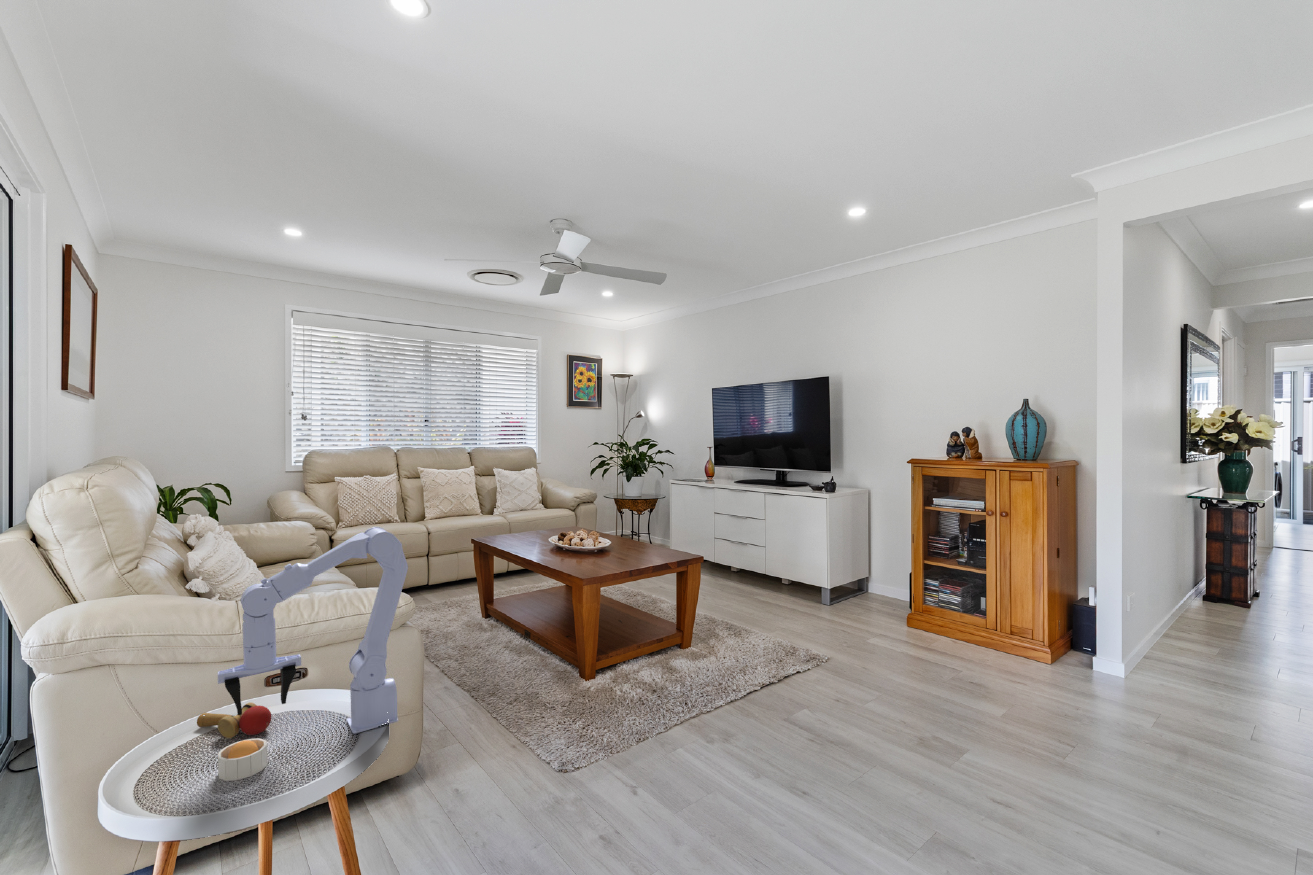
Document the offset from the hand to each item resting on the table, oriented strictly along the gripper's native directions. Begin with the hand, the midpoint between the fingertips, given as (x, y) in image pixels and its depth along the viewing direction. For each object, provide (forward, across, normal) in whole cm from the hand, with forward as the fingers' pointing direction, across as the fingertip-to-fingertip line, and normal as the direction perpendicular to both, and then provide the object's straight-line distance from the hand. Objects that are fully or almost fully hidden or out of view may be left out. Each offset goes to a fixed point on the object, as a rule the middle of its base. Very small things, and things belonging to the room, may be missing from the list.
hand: (261, 707), depth 127 cm
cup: (+9, +4, +5) cm, 11 cm away
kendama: (+10, +4, -15) cm, 18 cm away
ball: (+6, +4, +5) cm, 9 cm away
